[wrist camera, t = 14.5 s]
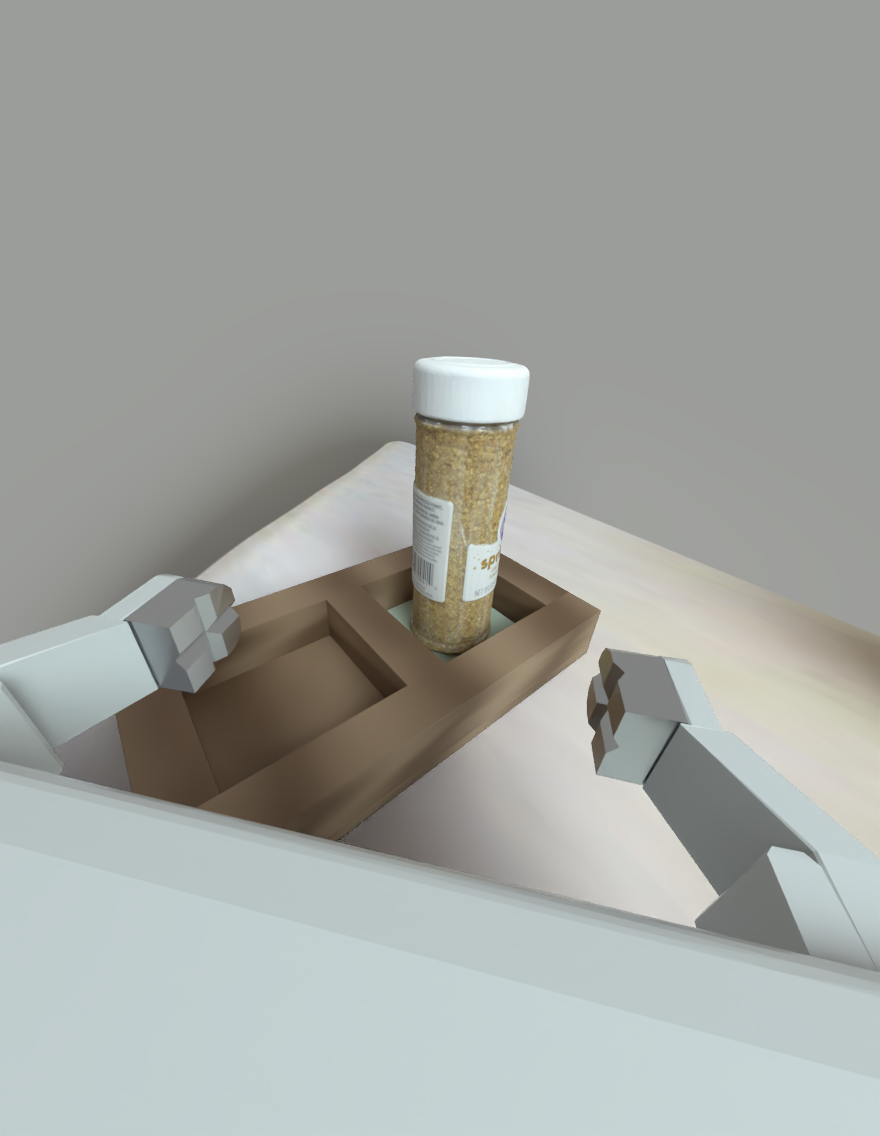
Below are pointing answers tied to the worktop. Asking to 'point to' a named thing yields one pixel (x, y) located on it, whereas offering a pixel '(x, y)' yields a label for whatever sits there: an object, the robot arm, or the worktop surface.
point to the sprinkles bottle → (461, 493)
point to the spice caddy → (344, 697)
